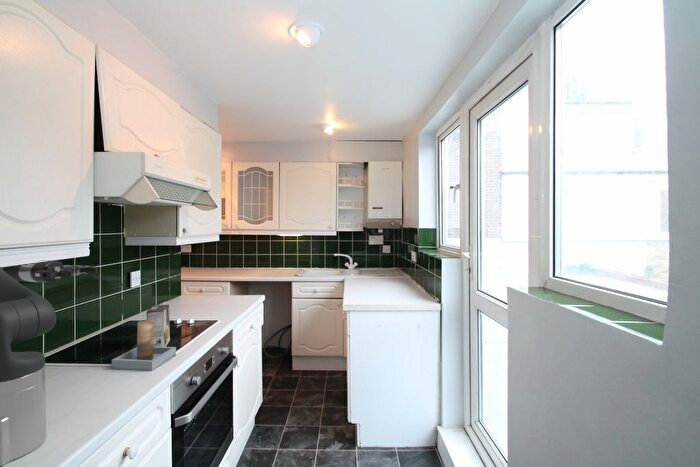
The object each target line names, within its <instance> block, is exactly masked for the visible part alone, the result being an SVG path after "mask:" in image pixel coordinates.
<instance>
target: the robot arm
mask: <svg viewBox="0 0 700 467" xmlns="http://www.w3.org/2000/svg"><path fill="white" fill-rule="evenodd" d="M47 261H48V262H41V263H34V264H27V265H21V266H14V267H7V268H1V267H0V466H1V467H3V466H4V465H7V463H9V462H11V461H14V460H16V459H18V458H21V457H23V456H25V455H27V454H30V453H31V452H33V451H34V450H36V449H37V448H38V447H40V446H41V445H42V444H43V443H44V442H45V441H46V439H47V406H46V405H47V400H46V395H47V394H46V357H45V354H44V353H43V352H40V351H12V347H11V344H15V343H18V342H23V341H26V340H30V339H32V338H36V337H40V336H42V335H45V334H47V333H49V332H50V331H51V330H53V329H54V327H55V326H56V323H57V313H56V311H55V308H54V307H53V305H52V304H51V302H49V300H48V299H46V298H45V297H43V296H42V295H41V294H39V293H37V292H35V291H33V290H32V289H31V288H28V287H26V286H25V285H23V284H22V283H20V282H33V283H56V282H58V281H60V280H61V279H62V278H64V279H66V278H68V279H69V278H72V277H73V276H80V275H81V274H85V275H86V274H87V275H88V274H98V267H97V266H93V265H90V264H89V265H69V264H67V265H64V264H63V263H62V262H61V261H57V260H47ZM3 269H6V270H5V271H4V270H3Z"/></svg>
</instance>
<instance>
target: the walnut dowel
mask: <svg viewBox="0 0 700 467" xmlns="http://www.w3.org/2000/svg"><path fill="white" fill-rule="evenodd" d="M136 327H137V333H136V334H137V335H136V336H137V337H136V338H137V339H136V342H137V343H136V347H137V360H152V359H153V354H154V320H153V319H148V320H147V319H143V320H139V321H137V326H136Z"/></svg>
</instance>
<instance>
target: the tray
mask: <svg viewBox="0 0 700 467" xmlns="http://www.w3.org/2000/svg"><path fill="white" fill-rule="evenodd" d="M176 356H177V347H176V346H166V347H158V346H154V354H153V359H152V360H137V346H136V347H134V348H133V349H130V350H129V351H126V352H124V353H122V354H121V355H119V356H117V357H115V358H113V359H111V369H112V370H122V371H123V370H125V371H143V372H144V371H146V372H152V371H154V370H156V369H157V368H159V367H161V366H162V365H164V364H165V363H166V362H168V361H169V360H171V359H173V358H174V357H176Z"/></svg>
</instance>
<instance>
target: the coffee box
mask: <svg viewBox="0 0 700 467" xmlns="http://www.w3.org/2000/svg"><path fill="white" fill-rule="evenodd" d="M148 319H153V320H154V346H158V347H168V344H169V343H170V341H171V336H170V331H171V330H170V304H156V305H155V304H153V305H152V306H150V307H149V309H147V311H146V320H148Z"/></svg>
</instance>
